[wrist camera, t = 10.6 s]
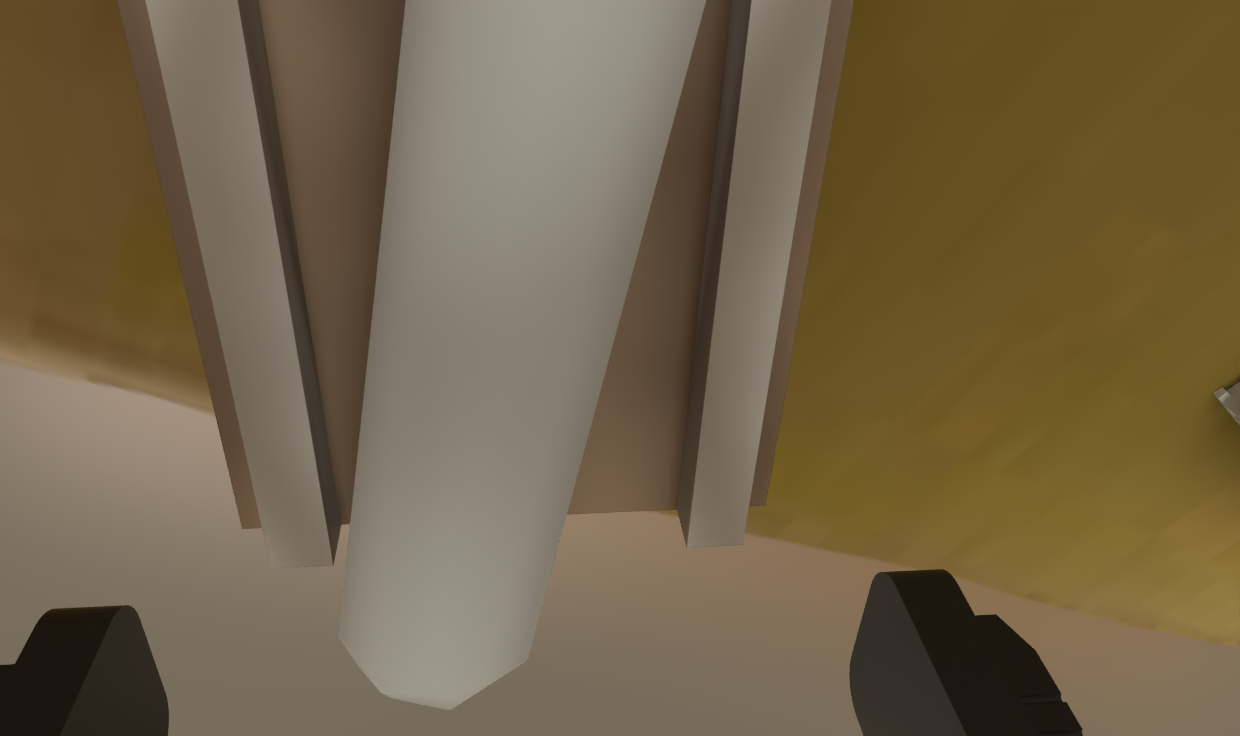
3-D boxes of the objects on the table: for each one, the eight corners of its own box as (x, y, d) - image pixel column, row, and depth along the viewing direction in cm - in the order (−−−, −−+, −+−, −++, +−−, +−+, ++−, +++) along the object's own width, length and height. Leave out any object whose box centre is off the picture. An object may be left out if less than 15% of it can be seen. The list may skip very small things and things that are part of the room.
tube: (557, 724, 24) (977, -615, 11) (345, 779, 21) (557, -883, 8) (490, 573, 28) (741, -552, 15) (304, 605, 25) (404, -723, 12)
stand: (762, -269, 24) (938, -283, 15) (698, 323, 34) (779, 543, 25) (203, -303, 23) (-6, -345, 13) (305, 331, 32) (229, 571, 23)
